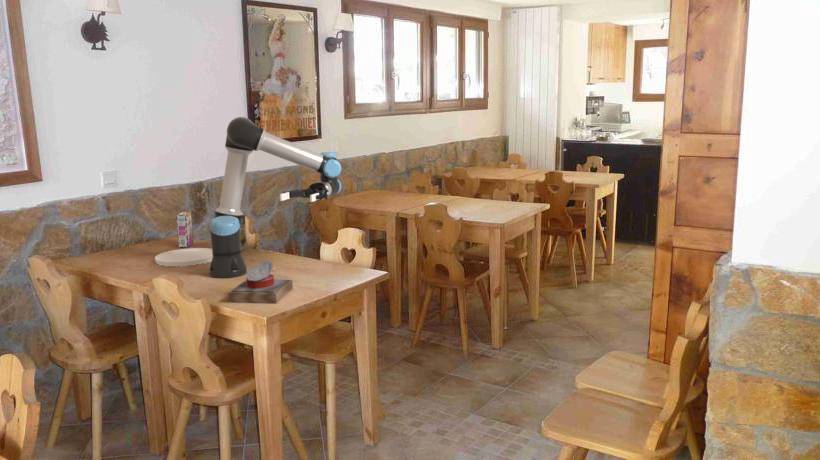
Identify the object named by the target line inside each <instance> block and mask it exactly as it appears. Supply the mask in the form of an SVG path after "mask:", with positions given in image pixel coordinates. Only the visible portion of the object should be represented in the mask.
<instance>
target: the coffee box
mask: <svg viewBox="0 0 820 460" xmlns="http://www.w3.org/2000/svg"><path fill="white" fill-rule="evenodd" d="M247 240H248V239H247V227H246V216H245V215H244V214H243V216H242V223H241V231H240V241H241V251H242V249H243V250H244V249H247V248H248V243H247V242H248V241H247Z"/></svg>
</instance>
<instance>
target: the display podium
mask: <svg viewBox="0 0 820 460" xmlns="http://www.w3.org/2000/svg"><path fill="white" fill-rule="evenodd" d="M293 284H294V282H293V280H292V279H275V278H274V285H273V286H271V287H268V288H261V289H253V288H248V287H247V279H245V280H244V281H243V282H241V283H239V284H238V285H237V286H235V287H234V288H232V289H231V290H229V291H228V292H227V299H228V300H227V301H228V303H240V302H245V303H244V304H246V302H248V303H247V304H250V303H251V304H278V303H279V302H280V301H281V300H282V299H283V298H285V297H286V296H287V295H288V294H289V293H290V292H292V291H293V289H294V285H293ZM277 302H278V303H277Z"/></svg>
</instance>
